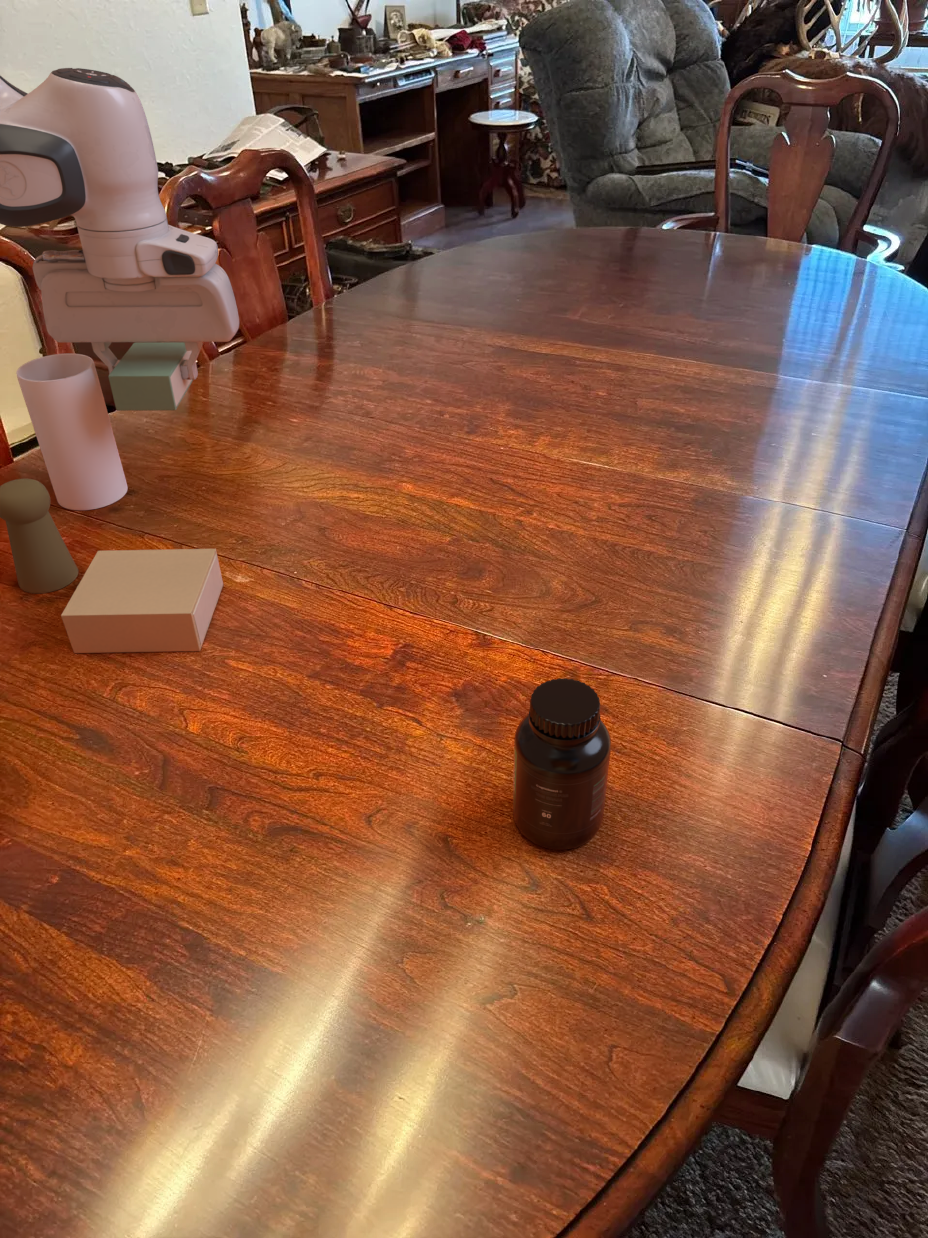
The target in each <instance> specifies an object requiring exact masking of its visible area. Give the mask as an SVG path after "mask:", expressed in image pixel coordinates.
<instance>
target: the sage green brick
mask: <svg viewBox="0 0 928 1238" xmlns="http://www.w3.org/2000/svg"><path fill="white" fill-rule="evenodd" d="M191 352H192V351H187V350H186V347H185V342H132V345H130V347H129V349H127V351H126V353H125V354H124V355H123V356H122V357H121V358H120V359H119V360H120V361H119V363H118V364H117V365H116V367H115V368H114V369H113V371H112V372H111V373H110V374H108V377H107V378H108V381H109V385H110V390H111V393H112V397H113V402H114V406H115V410H116V411H117V412H118V411H119V412H120V411H121V412H122V411H123V412H124V411H125V412H126V411H129V412H131V411H132V412H133V411H138V412H143V411H153V412H155V411H157V412H158V411H161V412H162V411H176V410H177V409H178V407H179V406H180V404H181V402H182V401H183V399H184V397H185V395H186V394H187V392H188V390H189V388H190V386H191V385H192V383H193V381H194V380H183V379H182V377H181V374H182V373H181V372H180V364H181V363H182V361H183V360H188V359H189V357H190V354H191Z"/></svg>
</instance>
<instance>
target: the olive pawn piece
mask: <svg viewBox="0 0 928 1238" xmlns="http://www.w3.org/2000/svg"><path fill="white" fill-rule="evenodd" d="M50 496H51V495H50V493H49V491H48V489H47V487H46V486H45V485H44V484H43V483H42V482H41V481H38V480H37V479H32V478H17V479H12V480H9V481H7V482H5V483H3V484H1V485H0V519H2V520H4V521H5V525H6V529H7V535H8V540H9V544H10V550H11V554H12V559H13V565H14V570H15V574H16V579H17V584H18V586H19V588H20V590H22V591H24V592H25V593H29V594H47V593H52V592H55V591H59V590H62V589H63V588H65V587H68V586H69V585H70V584H72V583H73V582H74V581H75V580H76V579H77V577H78V575H79V568H78V566H77V564H76V562H75V561H74V558H73V557H72V554H71V553H70V551H69V548H68V546H67V544H66V543H65V541H64V539H63V537H62V535H61V533H60V531H59V529H58V527H57V525H56V523H55V520H54V518H53V517H52V515H51V513H50V511H49V510H50V507H51V497H50Z"/></svg>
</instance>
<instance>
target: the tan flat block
mask: <svg viewBox="0 0 928 1238" xmlns="http://www.w3.org/2000/svg"><path fill="white" fill-rule="evenodd" d="M221 571H222V570H221V566H220V562H219V556H218V553H217V548H175V549H172V548H171V549H169V548H168V549H167V548H166V549H120V550H119V549H118V550H116V549H114V550H113V549H112V550H111V549H110V550H97V552H96V553H95V555H94V557H93V559H92V560H91V562H90V564H89V566H88V567H87V569H86V571H85V572H84V574H83V576H82V578H81V580H80V581H79V583H78V585H77V586H76V588H75V590H74V592H73V593H72V595H71V597H70V599H69V600H68V602H67V604H66V606H65V608H64V609H63V611H62V613H61V614H60V617H61V620H62V623H63V626H64V629H65V631H66V634H67V637H68V640H69V643H70V645H71V649H72V652H73V653H74V654H103V653H104V654H107V653H109V654H110V653H157V652H158V653H160V652H161V653H165V652H166V653H169V652H200V651H201V649H202V648H203V647H202V646H203V644H204V642H205V638H206V635H207V633H208V630H209V628H210V625H211V621H212V618H213V616H214V613H215V609H216V608H217V604H218V601H219V598H220V596H221V592H222V591H223V588H224V581H223V576H222V575H223V574H222V572H221Z"/></svg>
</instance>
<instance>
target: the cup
mask: <svg viewBox="0 0 928 1238" xmlns="http://www.w3.org/2000/svg"><path fill="white" fill-rule="evenodd" d="M15 374H16V377H17V381H18V384H19V387H20V389H21V393H22V397H23V400H24V403H25V406H26V409H27V412H28V415H29V418H30V421H31V424H32V427H33V430H34V434H35V436H36V440H37V443H38V446H39V449H40V452H41V455H42V458H43V461H44V465H45V467H46V470H47V474H48V477H49V480H50V483H51V486H52V489H53V492H54V495H55V499H56V502H57V504H58V505H59V506H61V507H62V508H64V509H67V510H71V511H90V510H96V509H101V508H104V507H107V506H110V505H112V504H115V503H116V502H118V501H120V500H121V499H122V498H123V497H124V496H125V495H126V494H127V492H128V490H129V489H128V488H129V485H128V483H127V479H126V475H125V471H124V467H123V464H122V460H121V457H120V453H119V450H118V446H117V442H116V438H115V434H114V431H113V427H112V423H111V419H110V416H109V412H108V409H107V406H106V401H105V397H104V394H103V391H102V386H101V383H100V379H99V376H98V375H99V374H98V372H97V369H96V363H95V362H94V359H93V358H92V357H90V356H89V355H86V354H81V353H57V354H50V355H45V356H41V357H37V358H35V359H31V360H29V361H27V362H25V363H24V364H21V365H20V366H19V367H18V368H17V370H16V373H15Z"/></svg>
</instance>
